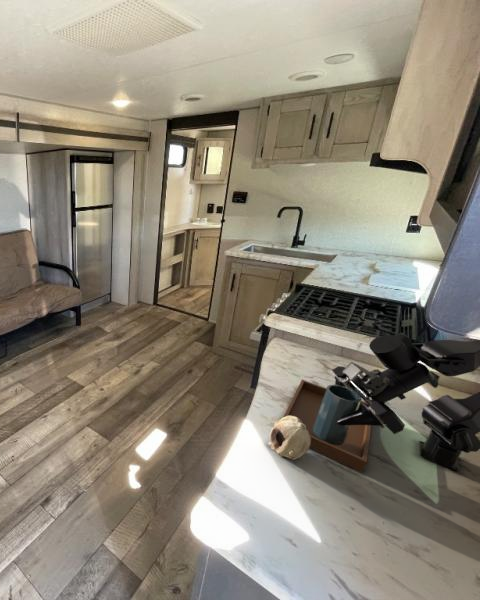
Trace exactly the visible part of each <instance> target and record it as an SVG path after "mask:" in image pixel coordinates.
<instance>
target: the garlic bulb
mask: <svg viewBox="0 0 480 600" xmlns="http://www.w3.org/2000/svg"><path fill="white" fill-rule="evenodd" d="M310 444H311V437H310V434H309V432H308V431H307V429H306V426H305V425H304V424H303V423H302V421H301V420H300V419H299V418H297V417H295V416H286V417H284V416H283V417H282V418H280V419H279V420H277V421H276V422H275V423H274V426H273V427H272V428H271V430H270V433H269V442H268V445H269V447H270V448H271V450H273V451H274V452H275V453H276V454H277V455H278V456H280V457H285V458H287V459H290V460H298V459H300V458H301V457H303V456H304V455H305V454H306V453H307V452H308V451H309V449H310V448H309V447H310Z"/></svg>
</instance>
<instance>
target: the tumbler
mask: <svg viewBox="0 0 480 600" xmlns="http://www.w3.org/2000/svg"><path fill="white" fill-rule="evenodd" d="M325 388H326V391H325V394H324V397H323V400H322V402H321V405H320V408H319V411H318V414H317V417H316V420H315V423H314V426H313V432H314V434H315V435H316V436H317V437H318V438H319V439H321V440H323V441H325V442H327V443H330V444H333V445H342V444H343V443H344V442H345V440H346V438H347V435H348V433H349V430H350V427H351V425H339V424H338V423H337V421H338V420H340V419H341V418H343V417H345V416H347V415H348V414H350V413H352V412H354V411H356V410H358V407H359V405H360V402H361V401H362V398H361V396H360V395H359V394H358V393H357V392H355V391H354V390H351V389H349V388H347V387H344V386H340V385H335V384H329V385H327V386H326V387H325Z"/></svg>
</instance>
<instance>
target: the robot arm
mask: <svg viewBox="0 0 480 600" xmlns="http://www.w3.org/2000/svg"><path fill="white" fill-rule="evenodd" d="M369 349H370V350H371V352H372V353H373V355H375V357H376V358H377V359H378V360H379V363H381V364H382V365H383V367H384V368H386V369H384V370H383V371H381V370H379V368H377V369H372V370H371V371H370V370H369V369H366V368H364V366H360V365H359V364H357V363H355V362H353V361H351V362H350V363H348V365H347V366H346V367H345V366H340V365H339V366H336V367H335V368H332V369H331V371H332V372H333V373H334V375H335V376H334V381H335V382H334V385H340V386H344V387H347V388H349V389H351V390H354V391H355V392H357V393H358V394H359V395H360V396H361V400H362V401H364V402H366V403H367V404H368V405H369V406H370V407H367V406H366V405H365V404H364V403H363V402H362V403H361V405H360V407H359V409H358V410H356V411H354V412H352V413H350V414H348V415H347V416H345V417H343V418H341V419H340V420H338V421H337V423H338V424H339V425H371V427H372V426H374V427H380V428H381V429H383V428H385V427H387V429H388V430H389V431H390V432H392V434H393V435H396V434H398V433H401V432H402V431H403V430H404V428H405V426H406V424H405V423H404V422H403V421H402V419H401V418H400V417H399V415H397V414H396V412H395V411H394V410H393V409H392V408H391V407H389V405H387V404H386V403H388V402H390V401H391V400H393V399H397V398H398V399H399V400H400V401H402V400H405V399H407V397H406V396H405V395H404V394H406V393H409V392H411V391H413V390H415V389H417V388H419V387H421V386H424V385H425V384H428V385H429V386H431V387H433V388H434V389H437V388H438V387H439V379H440V375H438V374H437V373H439V374H441V375H442V376H445V377H457V376H461V375H465V374H469V373H472V372H475V371H476V370H477V369H478V368H480V339H477V340H470V341H464V340H463V341H462V340H454V339H439V340H438V339H437V340H435V339H434V340H430V341H426V342H415V343H413V342H412V340H411V339H410V338H409V336H408V335H406V334H404V333H402V332H399V333H397V334H384V335H380V336H379V335H378V336H377V337H374V338H373V339H372V340H371V341H370V343H369ZM428 367H429V368H431V369H432V370H434V371H436V372H437V373H435V372H433V371H432V370H431V371H430V370H429V368H428ZM427 403H428V404H426V405H425V406H424V407H422V412H421V418H422V423H423V424H424V425H425V426H426V427H428V428H429V429H430V432H429V434H428V435H427V437H426V439H425V441H421V440H419V441H418V450H419V456H420V457H421V458H423V459H426V460H428V461H431V462H433V463H436V464H437V465H440V466H443V467H446V468H448V469H451V470H453V471H456V472H459V471H460V466H459V461H458V459H459V458H460V456H461V454H462V453H463V452H464V453H465V454H470V453H471V452H473V453H474V452H478V451H479V450H480V439H479V438H478V436H477V435H478V434H479V433H480V391H478V392H476V393H474V394H472V395H469V396H467V397H464V398H453V397H452V396H450V395H449V394H445V395H441V396H440V397H439V398H437V399H434V400H430V401H428V402H427Z"/></svg>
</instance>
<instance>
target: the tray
mask: <svg viewBox="0 0 480 600" xmlns="http://www.w3.org/2000/svg"><path fill="white" fill-rule="evenodd" d="M300 380H301V381H300V383H299V384H298V386H297V388H296V390H295V392H294V395H293V397H292V399H291V400H290V403H289V405H288V407H287V409H286V411H285V413H284V415H283V417H286V416H295V417H297V418H299V419H300V420H301V421H302V423H303V424H304V425H305V426H306V429H307V431H308V432H309V434H310V437H311V444H310V447H309V449H310V450H313V451H315V452H317V453H318V454H321V455H323V456H326V457H327V458H330V459H332V460H334V461H336V462H338V463H340V464H343V465H345V466H347V467H349V468H351V469H354V470H356V471H357V472H360V473H364V470H365V468H366V466H367V464H368V458H369V451H370V440H371V432H372V431H371V430H372V425H351V427H350V430H349V433H348V435H347V438H346V440H345V442H344V443H343V444H342V445H333V444H330V443H327V442H325V441H323V440H321V439H319V438H318V437H317V436H316V435H315V434H314V432H313V426H314V423H315V420H316V417H317V414H318V411H319V408H320V405H321V402H322V400H323V397H324V394H325V391H326V388H327V387H324V386H321V385H319V384H316V383H313V382H311V381H307V380H305V379H300ZM362 402H363V403H364V404H365V405H366V406H367V407H370V406H369V405H368V404H367V403H366V402H365V401H364V400H361V402H360V405H361V403H362ZM360 405H359V407H360ZM359 407H358V409H359Z"/></svg>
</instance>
